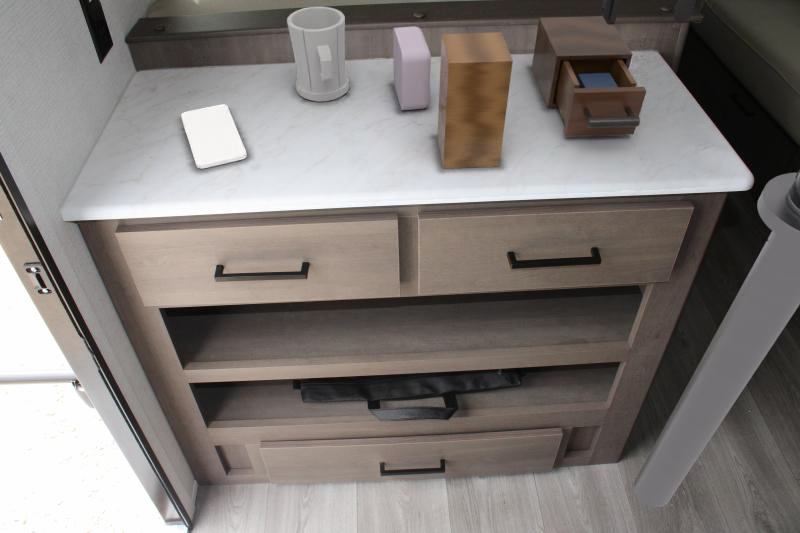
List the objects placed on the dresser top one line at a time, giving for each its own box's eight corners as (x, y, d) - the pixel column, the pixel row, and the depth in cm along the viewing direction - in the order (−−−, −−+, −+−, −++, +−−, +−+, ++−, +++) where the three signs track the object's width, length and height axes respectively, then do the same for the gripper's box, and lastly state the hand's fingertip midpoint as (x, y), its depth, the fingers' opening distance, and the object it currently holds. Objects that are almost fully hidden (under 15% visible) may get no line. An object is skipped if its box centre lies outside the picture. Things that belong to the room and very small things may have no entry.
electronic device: (431, 111, 100) (433, 51, 93) (402, 114, 99) (402, 54, 92) (421, 80, 107) (422, 22, 100) (393, 82, 106) (393, 24, 99)
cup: (368, 90, 105) (365, 18, 96) (330, 113, 100) (323, 40, 91) (322, 70, 109) (315, 1, 101) (284, 91, 104) (273, 20, 96)
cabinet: (618, 106, 100) (632, 54, 94) (547, 108, 100) (556, 56, 94) (596, 66, 110) (608, 15, 104) (531, 68, 110) (539, 17, 103)
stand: (490, 135, 95) (501, 32, 84) (499, 166, 89) (512, 60, 78) (437, 137, 95) (441, 33, 83) (443, 168, 89) (448, 62, 78)
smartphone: (196, 166, 89) (179, 112, 98) (197, 170, 89) (181, 117, 99) (247, 154, 91) (226, 103, 100) (248, 159, 91) (227, 107, 101)
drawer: (642, 151, 90) (656, 106, 85) (571, 153, 90) (581, 108, 85) (610, 91, 102) (621, 49, 97) (547, 93, 102) (555, 51, 97)
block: (602, 101, 98) (609, 72, 95) (611, 117, 95) (619, 88, 91) (572, 102, 98) (578, 73, 95) (580, 119, 95) (586, 90, 91)
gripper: (625, -121, 63) (593, 36, 74) (768, -124, 63) (713, 33, 74) (606, -140, 68) (578, 10, 80) (738, -143, 68) (691, 7, 80)
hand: (644, 21), depth 77 cm, fingers open, 8 cm apart
